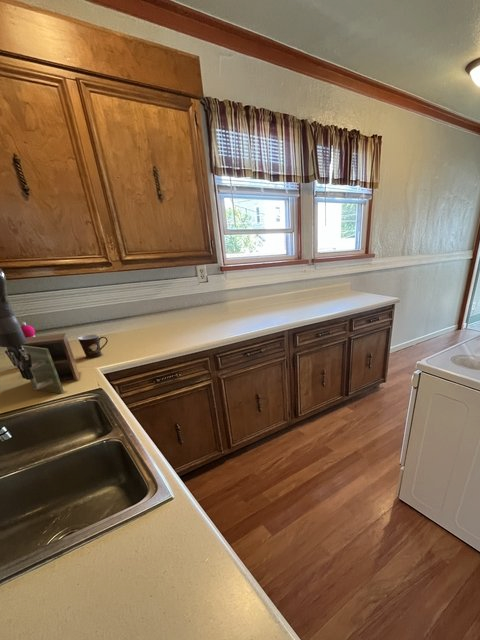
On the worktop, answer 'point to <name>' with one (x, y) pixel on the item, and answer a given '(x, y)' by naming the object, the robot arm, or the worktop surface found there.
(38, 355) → the cupboard door
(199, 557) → the worktop surface
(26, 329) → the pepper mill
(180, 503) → the worktop surface
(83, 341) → the coffee mug
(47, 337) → the cupboard
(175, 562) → the worktop surface
